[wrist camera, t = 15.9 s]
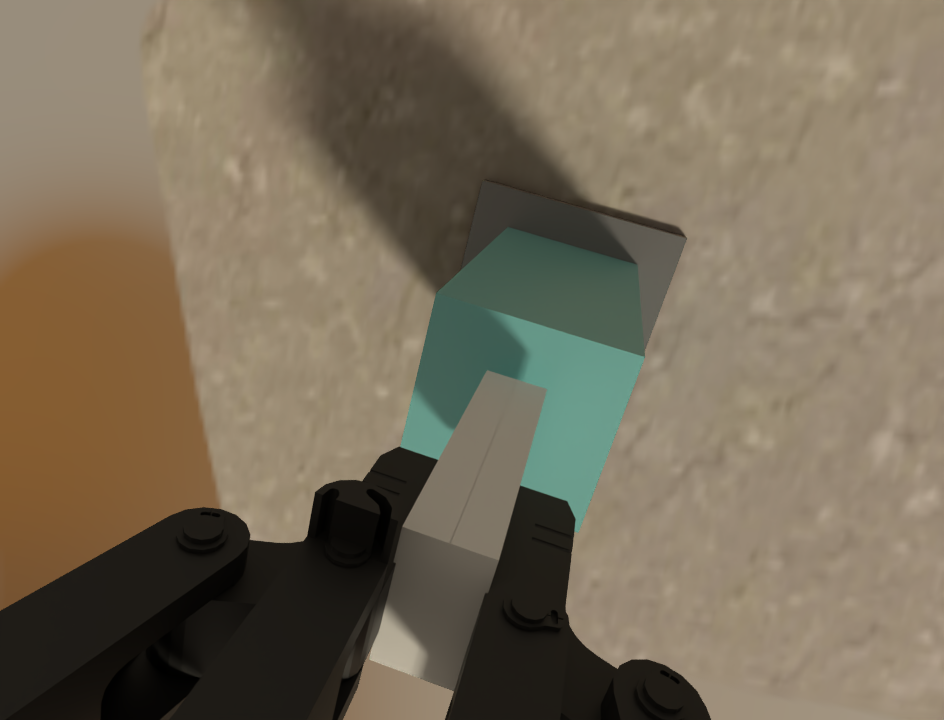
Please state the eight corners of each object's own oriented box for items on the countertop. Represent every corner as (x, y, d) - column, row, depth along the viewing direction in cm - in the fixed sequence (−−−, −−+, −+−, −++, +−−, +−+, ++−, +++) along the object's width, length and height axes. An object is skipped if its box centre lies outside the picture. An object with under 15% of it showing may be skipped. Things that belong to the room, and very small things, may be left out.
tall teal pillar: (637, 264, 25) (644, 357, 15) (595, 384, 27) (578, 532, 17) (508, 226, 26) (435, 292, 16) (476, 346, 28) (394, 470, 18)
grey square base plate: (686, 236, 25) (708, 281, 18) (617, 418, 28) (614, 515, 21) (484, 179, 26) (434, 201, 19) (439, 362, 29) (382, 437, 22)
